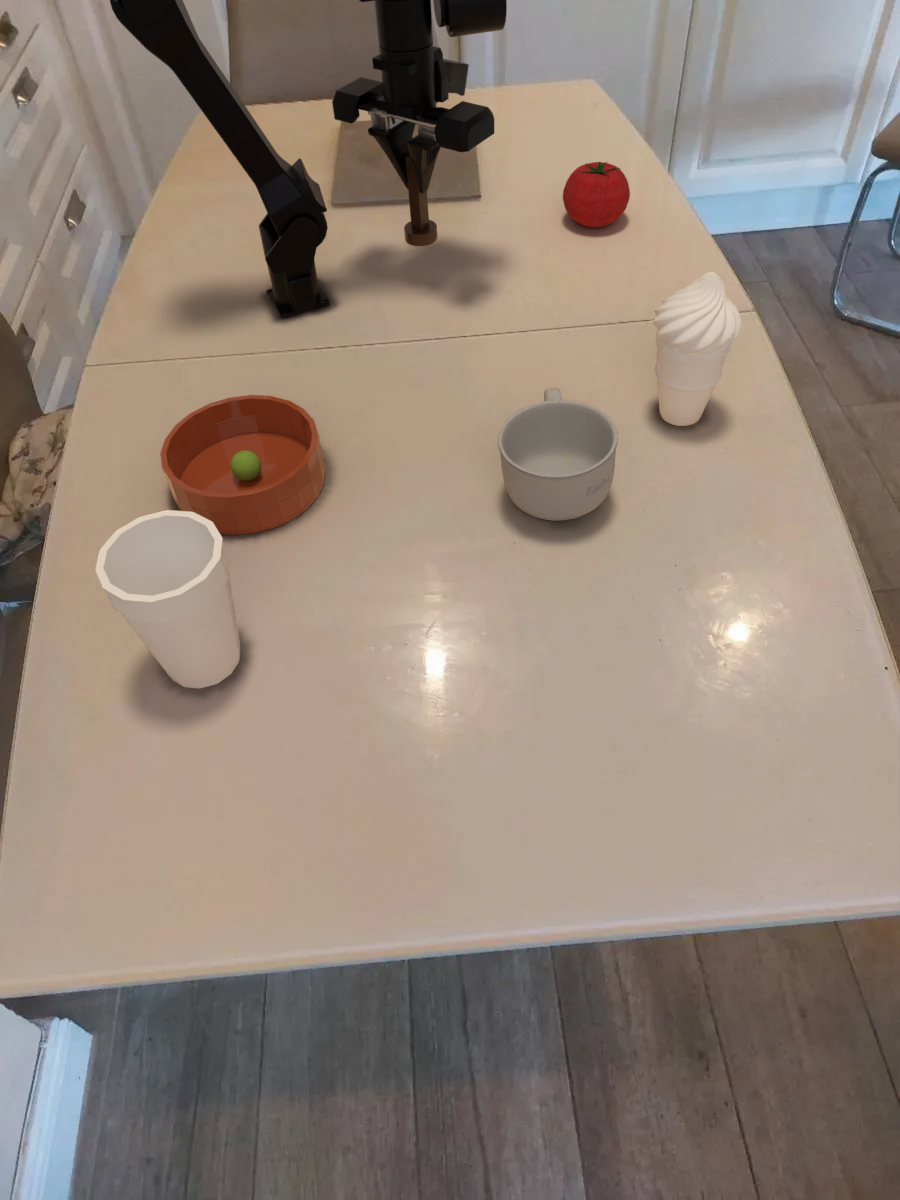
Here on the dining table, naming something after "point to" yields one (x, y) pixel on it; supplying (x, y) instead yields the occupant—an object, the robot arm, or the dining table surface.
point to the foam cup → (175, 593)
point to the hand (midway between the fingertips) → (417, 189)
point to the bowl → (245, 424)
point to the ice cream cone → (692, 347)
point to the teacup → (558, 457)
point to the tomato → (596, 194)
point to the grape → (245, 465)
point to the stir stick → (418, 213)
